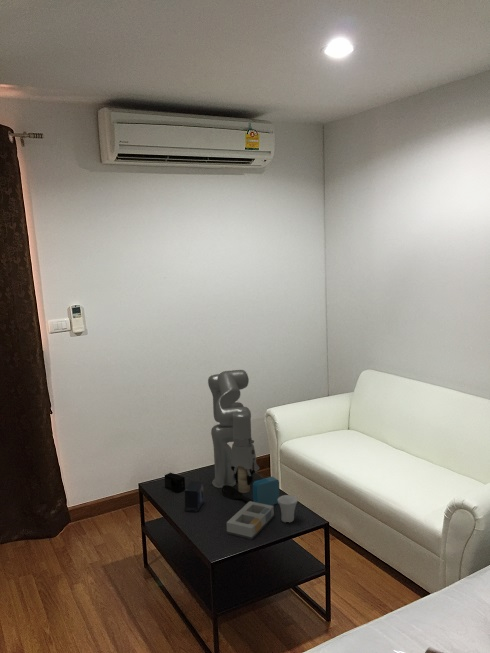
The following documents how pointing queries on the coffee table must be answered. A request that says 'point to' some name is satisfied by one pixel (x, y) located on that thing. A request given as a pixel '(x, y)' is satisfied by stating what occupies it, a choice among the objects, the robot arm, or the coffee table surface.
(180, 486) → the digital camera
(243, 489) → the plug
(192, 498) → the small box
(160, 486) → the coffee table surface
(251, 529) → the socket block
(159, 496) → the coffee table surface
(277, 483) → the data package
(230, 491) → the hairbrush
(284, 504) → the cup
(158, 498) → the coffee table surface
